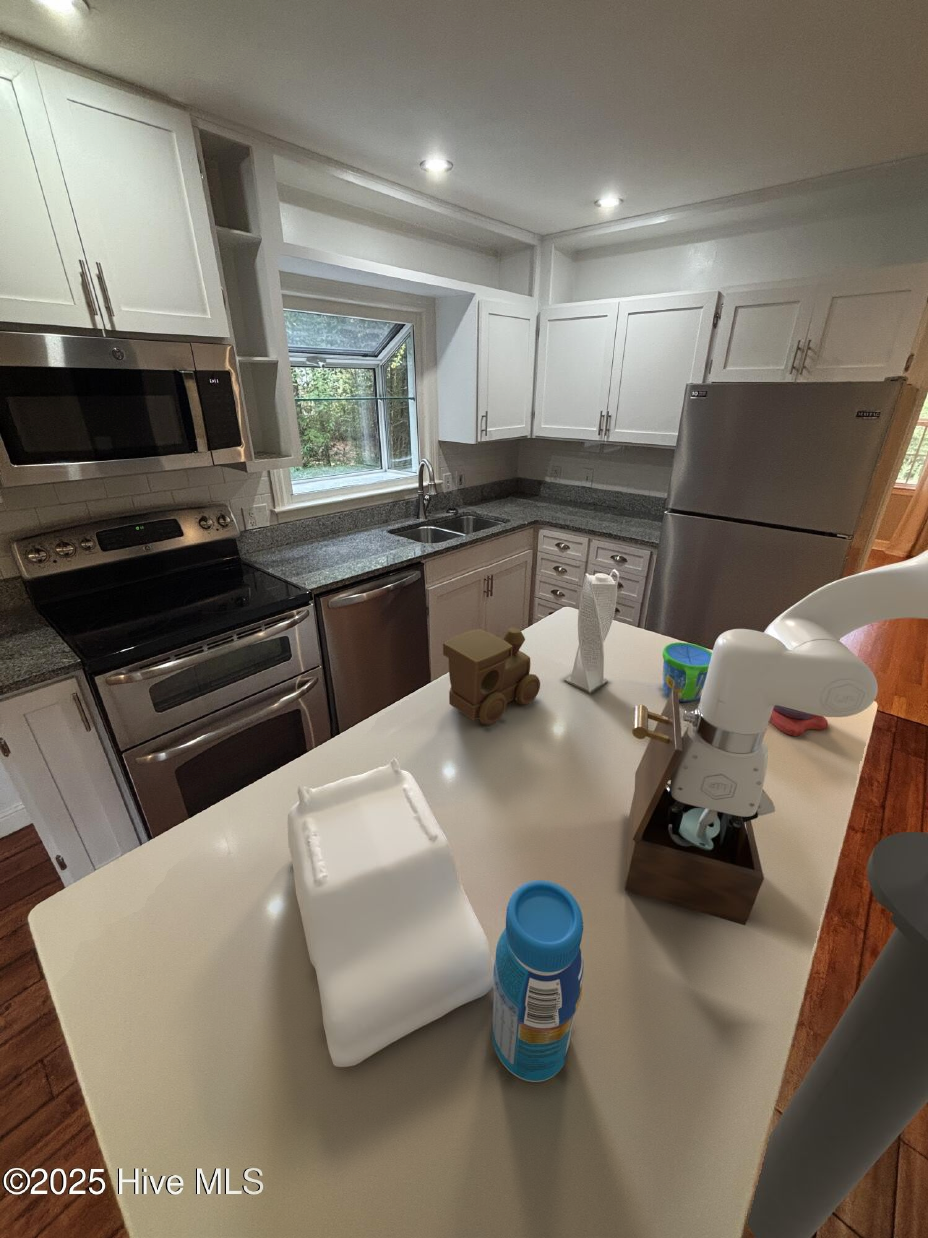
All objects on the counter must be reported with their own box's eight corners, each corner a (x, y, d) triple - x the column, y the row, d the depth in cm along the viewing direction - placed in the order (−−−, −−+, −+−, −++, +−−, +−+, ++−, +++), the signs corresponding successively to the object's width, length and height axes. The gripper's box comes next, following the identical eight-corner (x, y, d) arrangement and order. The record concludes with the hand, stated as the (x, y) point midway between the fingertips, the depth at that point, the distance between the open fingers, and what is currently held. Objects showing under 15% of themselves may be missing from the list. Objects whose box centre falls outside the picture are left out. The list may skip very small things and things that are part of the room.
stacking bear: (791, 738, 97) (820, 659, 89) (749, 709, 105) (772, 634, 98) (832, 728, 100) (863, 650, 92) (788, 700, 108) (813, 627, 101)
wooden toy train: (477, 737, 96) (479, 663, 89) (439, 710, 104) (439, 640, 97) (544, 698, 108) (551, 630, 101) (506, 676, 116) (510, 612, 109)
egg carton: (410, 806, 80) (407, 740, 74) (504, 991, 56) (510, 914, 50) (287, 849, 73) (273, 779, 67) (333, 1086, 48) (317, 1008, 43)
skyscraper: (612, 684, 113) (632, 568, 101) (592, 698, 108) (610, 577, 96) (581, 670, 119) (596, 558, 107) (561, 682, 114) (574, 566, 102)
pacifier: (660, 841, 68) (707, 864, 65) (668, 807, 66) (716, 829, 62) (677, 809, 73) (721, 828, 70) (684, 776, 71) (730, 795, 67)
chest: (731, 845, 74) (747, 801, 70) (745, 926, 63) (764, 878, 59) (628, 819, 78) (637, 776, 74) (624, 890, 67) (634, 843, 64)
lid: (678, 691, 67) (639, 679, 68) (683, 751, 56) (637, 736, 57) (640, 775, 74) (606, 763, 75) (638, 842, 63) (598, 827, 64)
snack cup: (707, 719, 102) (718, 677, 98) (653, 707, 106) (661, 666, 101) (705, 681, 115) (715, 642, 111) (657, 671, 119) (664, 633, 114)
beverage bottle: (473, 1038, 52) (477, 914, 43) (521, 974, 58) (533, 854, 49) (540, 1110, 47) (559, 987, 38) (586, 1033, 52) (612, 910, 44)
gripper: (654, 731, 60) (632, 837, 68) (818, 763, 55) (773, 874, 63) (654, 697, 67) (634, 798, 74) (800, 724, 62) (762, 829, 69)
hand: (698, 832), depth 69 cm, fingers closed on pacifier, 5 cm apart
